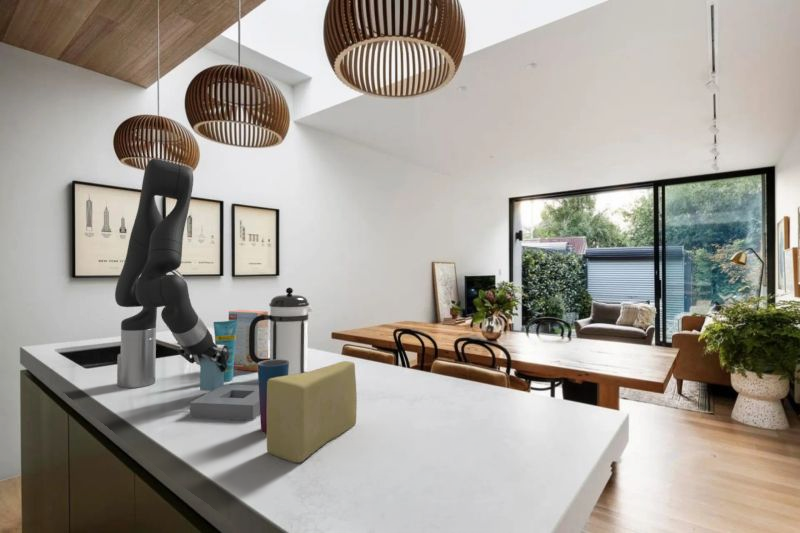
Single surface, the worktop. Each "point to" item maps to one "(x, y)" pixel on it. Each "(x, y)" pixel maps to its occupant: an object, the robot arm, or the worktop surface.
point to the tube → (227, 342)
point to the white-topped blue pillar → (210, 375)
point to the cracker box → (242, 339)
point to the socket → (228, 403)
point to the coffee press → (285, 331)
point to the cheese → (310, 410)
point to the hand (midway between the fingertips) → (215, 368)
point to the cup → (265, 373)
